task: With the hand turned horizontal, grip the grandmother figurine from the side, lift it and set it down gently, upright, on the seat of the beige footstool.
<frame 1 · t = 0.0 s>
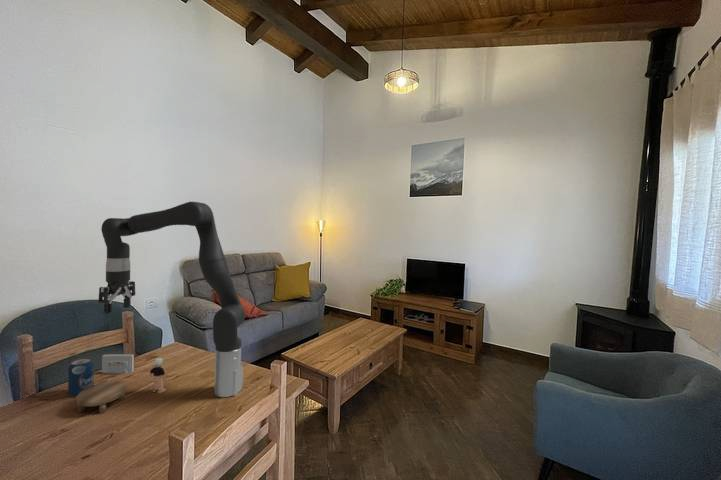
hand: (117, 310, 120), 29 cm above the table, tool pointing down, fingers open, 8 cm apart
beige footstool: (102, 404, 106), on the table
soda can: (81, 393, 113), on the table
grandmother figurine: (157, 391, 117), on the table
cassette: (117, 373, 129), on the table
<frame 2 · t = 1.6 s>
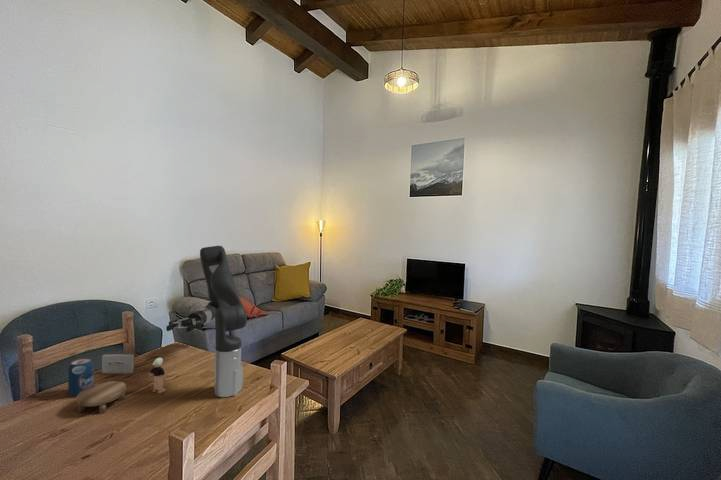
hand: (177, 329, 127), 20 cm above the table, tool horizontal, fingers open, 8 cm apart
nothing on the table moved.
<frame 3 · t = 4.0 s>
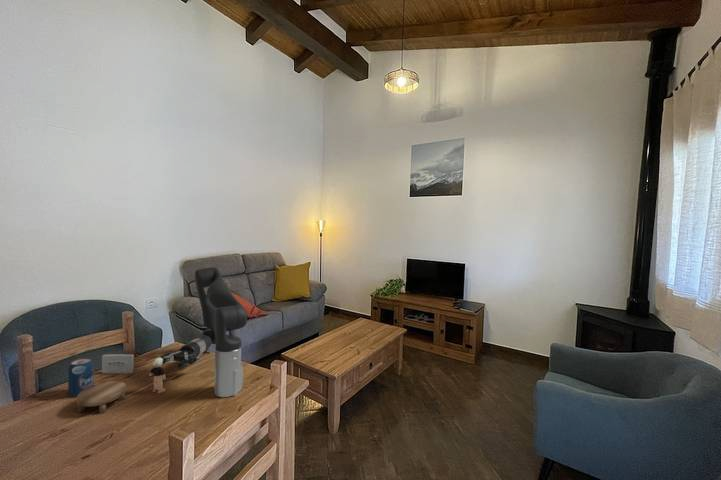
hand: (168, 365, 122), 7 cm above the table, tool horizontal, fingers open, 8 cm apart
nothing on the table moved.
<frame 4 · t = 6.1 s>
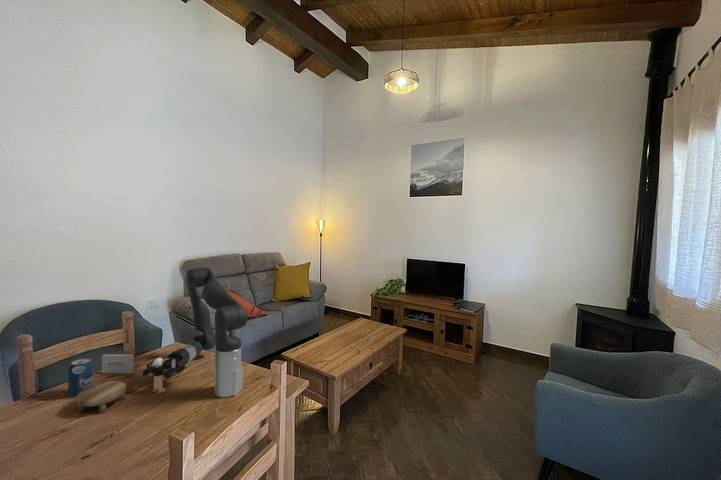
hand: (154, 374, 114), 7 cm above the table, tool horizontal, fingers closed on grandmother figurine, 7 cm apart
grandmother figurine: (157, 391, 117), on the table, touching gripper
everything else where it was.
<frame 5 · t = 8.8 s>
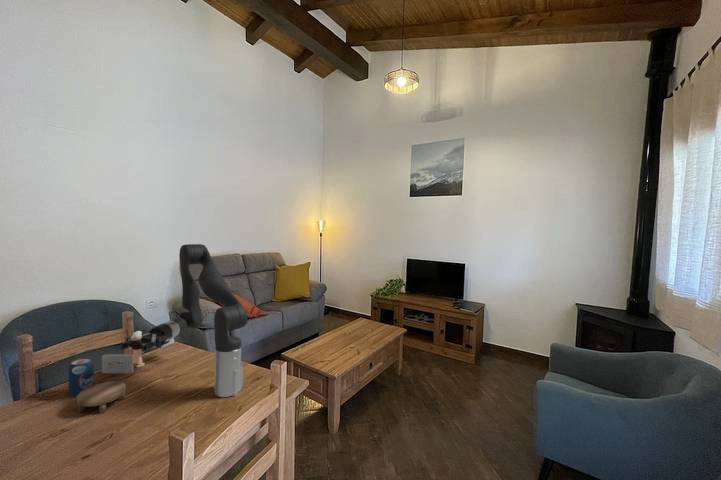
hand: (132, 347, 110), 19 cm above the table, tool horizontal, fingers closed on grandmother figurine, 7 cm apart
grandmother figurine: (136, 365, 113), point 11 cm above the table, touching gripper
everything else where it was.
when the fingers open (13 cm above the table, at t = 11.3 s): grandmother figurine stays where it is, resting on beige footstool.
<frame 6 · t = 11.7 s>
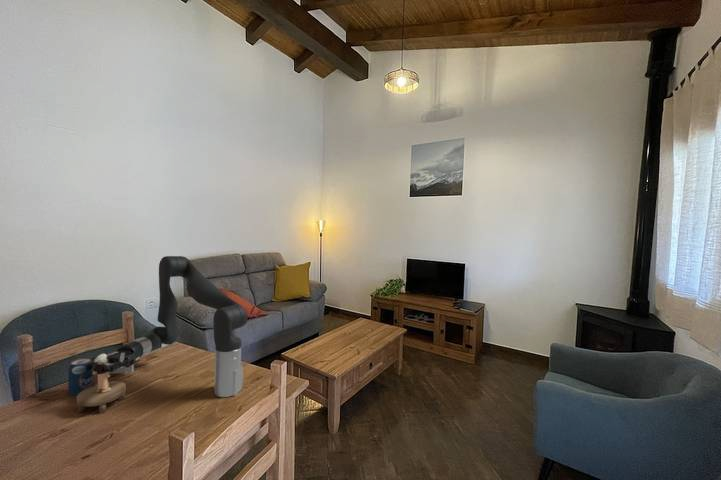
hand: (97, 368, 104), 14 cm above the table, tool horizontal, fingers open, 8 cm apart
grandmother figurine: (102, 390, 106), point 5 cm above the table, touching beige footstool
everything else where it was.
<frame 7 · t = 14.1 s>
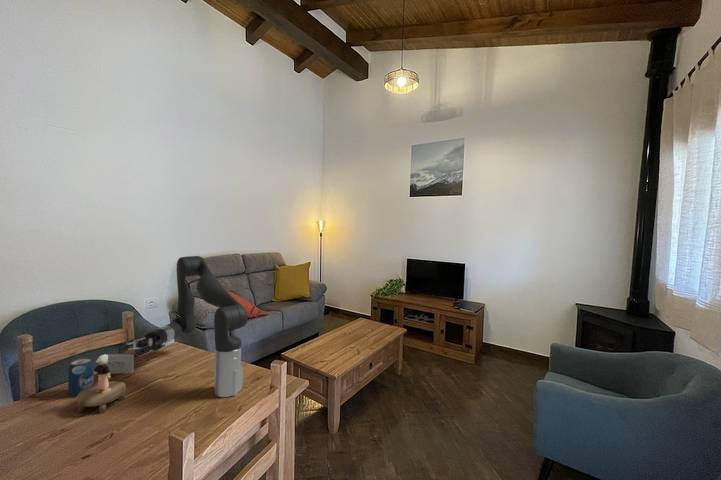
hand: (130, 351, 117), 14 cm above the table, tool horizontal, fingers open, 8 cm apart
nothing on the table moved.
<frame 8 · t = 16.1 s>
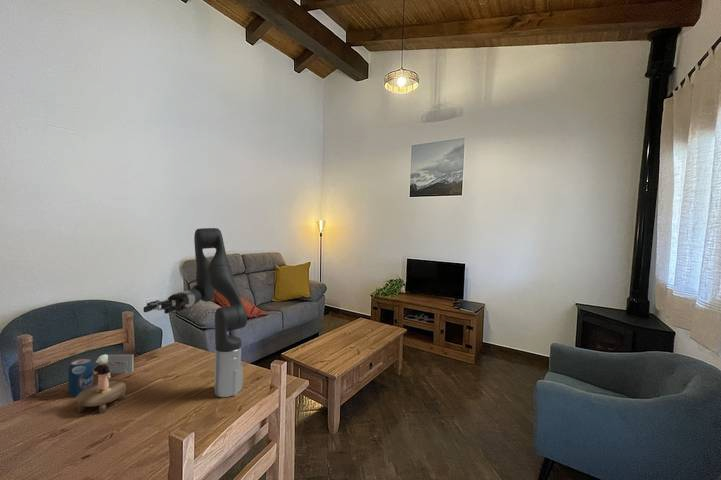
hand: (154, 310, 119), 30 cm above the table, tool horizontal, fingers open, 8 cm apart
nothing on the table moved.
at the end: grandmother figurine inside the target area on the beige footstool (0.2 cm from its centre), point 4.8 cm above the beige footstool's base; grandmother figurine tilted 0°; the gripper is holding nothing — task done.
